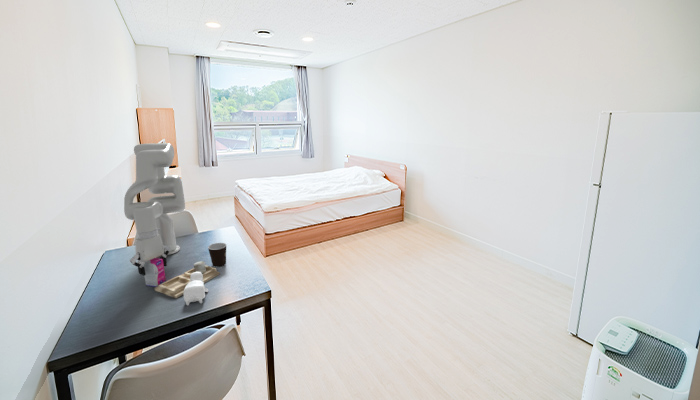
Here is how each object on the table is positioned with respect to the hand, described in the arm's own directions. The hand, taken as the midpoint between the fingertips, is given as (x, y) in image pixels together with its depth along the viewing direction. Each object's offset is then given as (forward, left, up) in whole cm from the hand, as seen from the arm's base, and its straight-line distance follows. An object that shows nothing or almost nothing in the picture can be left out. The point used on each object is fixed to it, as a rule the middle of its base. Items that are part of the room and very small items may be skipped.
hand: (153, 270), depth 142 cm
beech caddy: (+12, +8, -7) cm, 16 cm away
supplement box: (0, 0, -7) cm, 7 cm away
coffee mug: (+10, +28, -7) cm, 31 cm away
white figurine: (+25, +2, -7) cm, 26 cm away
